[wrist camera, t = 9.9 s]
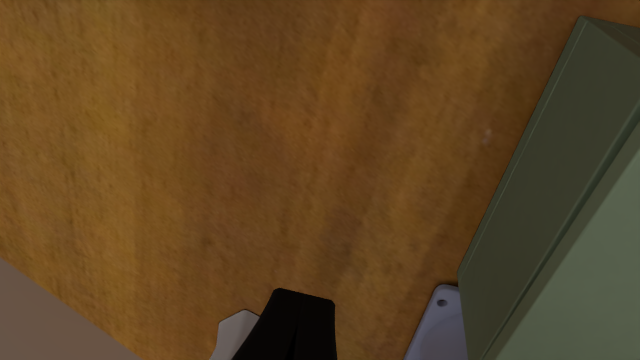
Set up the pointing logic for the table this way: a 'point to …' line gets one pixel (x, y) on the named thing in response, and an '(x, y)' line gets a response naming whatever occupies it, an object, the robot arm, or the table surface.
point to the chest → (551, 173)
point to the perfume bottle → (233, 334)
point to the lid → (587, 280)
